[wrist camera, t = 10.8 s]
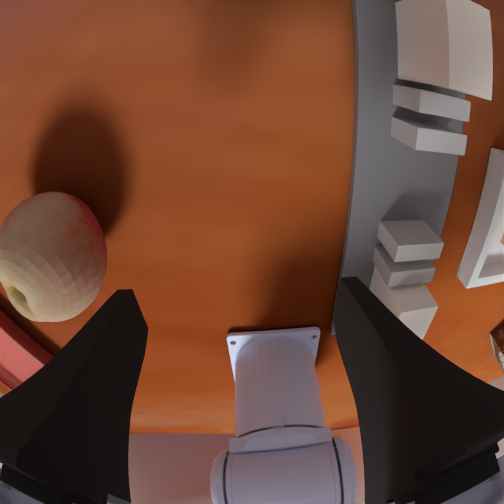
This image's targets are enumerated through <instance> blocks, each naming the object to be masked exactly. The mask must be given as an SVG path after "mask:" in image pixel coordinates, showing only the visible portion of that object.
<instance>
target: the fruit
mask: <svg viewBox="0 0 504 504" xmlns="http://www.w3.org/2000/svg"><path fill="white" fill-rule="evenodd" d="M106 265H107V248H106V243H105V238H104V234H103V232H102V229H101V226H100V224H99V222H98V220H97V218H96V216H95V215H94V213H93V212H92V210H91V209H90V208H89V207H88V206H87V205H86V204H85V203H84V202H83V201H82V200H80V199H79V198H77V197H76V196H74V195H70V194H67V193H64V192H55V191H51V192H44V193H40V194H37V195H35V196H32V197H30V198H28V199H26V200H24V201H22V202H21V203H20V204H19V205H18V206H17V207H15V208H14V209H13V210H12V211H11V212H10V213H9V214H8V216H7V217H6V218H5V220H4V222H3V224H2V226H1V229H0V282H1V284H2V285H3V287H4V288H5V290H6V293H7V295H8V298H9V300H10V301H11V303H12V305H13V306H14V307H15V308H16V310H17V311H18V312H19V313H21V314H22V315H23V316H24V317H26V318H28V319H30V320H33V321H39V322H45V321H50V322H59V321H64V320H68V319H71V318H73V317H75V316H77V315H78V314H79V313H81V312H82V311H83V310H84V309H86V308H87V307H88V306H89V305H90V304H91V303H92V302H93V301H94V299H95V298H96V296H97V295H98V293H99V291H100V289H101V287H102V284H103V280H104V276H105V272H106Z"/></svg>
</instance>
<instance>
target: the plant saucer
mask: <svg viewBox="0 0 504 504" xmlns="http://www.w3.org/2000/svg"><path fill="white" fill-rule="evenodd" d="M53 357H54V356H53V355H51V354H50V353H49V352H48V351H46V350H45V349H44V348H43V347H41V346H40V345H39V344H38V343H37V342H36V341H34V340H33V339H32V338H31V337H30V336H29V335H27V334H26V333H25V332H24V331H23V330H22V329H21V328H20V327H19V326H18V325H16V324H15V323H14V322H13V321H12V320H11V319H10V318H9V317H8V316H7V315H6V314H5V313H4V312H3V311H2V310H1V309H0V383H2V384H3V385H4V386H6V387H7V388H8V389H9V390H11V391H12V390H13V389H15V388H16V387H18V386H19V385H20V384H22V383H23V382H24V381H26V380H27V379H28V378H29V377H31V376H32V375H33V374H34V373H36V372H37V371H38V370H40V369H41V368H42V367H43V366H44V365H45V364H46V363H48V362H49V361H50V360H51V359H52V358H53Z"/></svg>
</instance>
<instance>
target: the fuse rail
mask: <svg viewBox="0 0 504 504" xmlns="http://www.w3.org/2000/svg"><path fill="white" fill-rule="evenodd" d="M398 1H402V0H352V11H353V27H354V52H355V111H354V137H353V155H352V170H351V182H350V193H349V204H348V213H347V222H346V231H345V239H344V246H343V254H342V261H341V268H340V274H339V281H340V278H343V277H354V276H357V277H358V278H359V279H360V280H361V281H362V282H363V283H364V284H365V285H366V286H367V287H368V288H370V284H371V280H372V276H373V272H374V267H375V266H376V268H377V269H378V271H379V273H380V275H381V276H382V278H383V280H384V282H385V284H386V286H387V287H395V286H403V285H411V284H419V283H424V284H426V283H427V282H431V281H432V278H433V275H434V272H435V269H436V267H435V266H434V265H433V261H434V259H437V258H440V254H441V251H442V248H443V245H444V242H443V241H442V240H441V239H440V238H441V234H442V231H443V227H444V224H445V220H446V216H447V212H448V208H449V204H450V199H451V195H452V190H453V185H454V181H455V175H456V170H457V164H458V158H459V155H465V149H466V142H467V135H465V134H463V133H462V130H463V121H466V122H469V117H470V105H471V102H470V101H466V100H465V96H466V93H462V92H458V91H454V90H449V89H445V88H440V87H436V86H432V85H427V84H422V83H418V82H413V81H407V80H402V79H398V42H397V21H396V8H395V2H398ZM339 281H338V287H339ZM338 287H337V293H338ZM337 293H336V298H337ZM335 304H336V299H335ZM335 304H334V309H335ZM333 315H334V310H333ZM333 315H332V321H331V326H330V334H331V335H336V334H335V329H334V323H333Z"/></svg>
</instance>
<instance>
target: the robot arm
mask: <svg viewBox="0 0 504 504" xmlns="http://www.w3.org/2000/svg"><path fill="white" fill-rule="evenodd" d="M333 323H334V329H335V334H336V339H337V344H338V347H339V350H340V354H341V357H342V360H343V363H344V366H345V369H346V373H347V376H348V379H349V382H350V385H351V389H352V392H353V395H354V399H355V403H356V408H357V414H358V420H359V426H360V433H361V441H362V450H363V461H364V476H365V477H364V478H365V504H393V503H395V504H504V455H503V456H502V457H500V458H498V459H496V455H495V453H497V452H498V451H499V447H498V444H497V442H498V441H500V440H501V439H503V438H504V391H503V390H500V389H498V388H496V387H493V386H491V385H489V384H487V383H486V382H484V381H482V380H480V379H478V378H476V377H474V376H473V375H471V374H469V373H468V372H466V371H464V370H463V369H461V368H460V367H458V366H457V365H455V364H454V363H452V362H451V361H449V360H448V359H446V358H445V357H444V356H442V355H441V354H439V353H438V352H437V351H436V350H434V349H433V348H432V347H430V346H429V345H428V344H427V343H425V342H424V341H423V340H422V339H420V338H419V337H418V336H417V335H416V334H415V333H414V332H413V331H411V330H410V329H409V328H408V327H407V326H406V325H405V324H404V323H403V322H402V321H400V320H399V319H398V318H397V317H396V316H395V315H394V314H393V313H392V312H391V311H390V310H389V309H388V308H387V307H386V306H385V305H384V304H383V303H382V302H381V301H380V300H379V299H378V298H377V297H376V296H375V295H374V294H373V293H372V292H371V290H370V289H369V288H368V287H367V286H366V285H365V284H364V283H363V282H362V281H361V280H360V279H359V278H358V277H357V276H354V277H343V278H340V281H339V287H338V293H337V298H336V304H335V309H334V315H333ZM147 334H148V327H147V324H146V322H145V320H144V317H143V315H142V312H141V310H140V307H139V305H138V302H137V300H136V297H135V295H134V292H133V289H125V290H117V291H116V292H115V293H114V294H113V295H112V296H111V297H110V298H109V299H108V300H107V301H106V302H105V303H104V304H103V305H102V307H101V308H100V309H99V310H98V311H97V312H96V313H95V314H94V315H93V316H92V318H91V319H90V320H89V321H88V322H87V323H86V324H85V325H84V326H83V327H82V329H81V330H80V331H79V332H78V333H77V334H76V335H75V336H74V337H73V338H72V339H71V340H70V341H69V342H68V343H67V344H66V345H65V346H64V347H63V348H62V349H61V350H60V351H59V352H58V353H57V354H56V355H55V356H54V357H53V358H52V359H51V360H50V361H49V362H48V363H46V364H45V365H44V366H43V367H42V368H41V369H40V370H38V371H37V372H36V373H34V374H33V375H32V376H31V377H29V378H28V379H27V380H26V381H24V382H23V383H22V384H20V385H19V386H18V387H16V388H15V389H13V390H12V391H10V392H9V393H7V394H6V395H4V396H2V397H1V398H0V462H1V463H2V464H3V465H2V469H1V468H0V504H107V503H108V504H130V503H131V498H130V489H129V476H128V444H129V443H128V442H129V428H130V417H131V410H132V404H133V400H134V395H135V391H136V387H137V383H138V379H139V375H140V371H141V367H142V363H143V359H144V355H145V350H146V343H147ZM319 338H320V328H319V327H306V328H294V329H282V330H268V331H252V332H232V333H229V334H228V335H227V343H228V349H229V354H230V359H231V364H232V370H233V375H234V380H235V438H231V439H229V449H224V450H222V451H221V452H220V453H219V455H218V456H217V457H216V458H215V459H214V462H213V464H212V469H211V480H210V485H211V486H210V487H211V496H212V501H213V504H355V503H356V498H357V475H356V468H355V463H354V458H353V454H352V451H351V448H350V445H349V443H348V442H347V441H346V440H344V439H342V437H341V436H334V437H331V431H330V427H326V422H325V416H324V411H323V406H322V400H321V395H320V389H319V384H318V379H317V374H316V369H315V360H316V355H317V349H318V344H319Z"/></svg>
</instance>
